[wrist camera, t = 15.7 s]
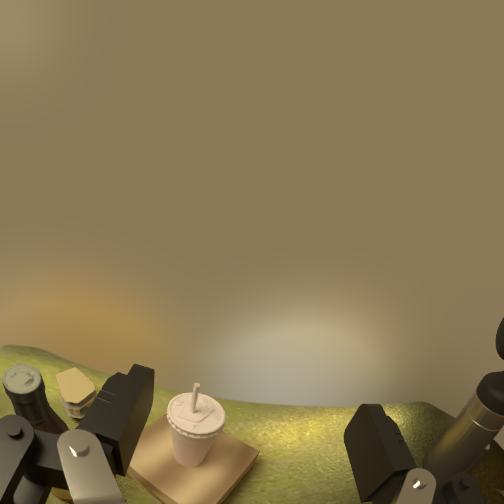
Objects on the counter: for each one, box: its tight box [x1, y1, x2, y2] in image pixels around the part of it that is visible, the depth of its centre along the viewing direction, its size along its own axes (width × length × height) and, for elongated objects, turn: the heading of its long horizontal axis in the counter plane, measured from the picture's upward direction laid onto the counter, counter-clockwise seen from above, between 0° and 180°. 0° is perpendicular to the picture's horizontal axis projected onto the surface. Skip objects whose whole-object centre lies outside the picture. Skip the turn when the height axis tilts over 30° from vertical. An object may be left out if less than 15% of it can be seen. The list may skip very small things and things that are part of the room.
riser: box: [126, 413, 260, 504], centre depth 30 cm, size 14×14×4 cm
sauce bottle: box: [2, 364, 74, 503], centre depth 18 cm, size 6×6×20 cm
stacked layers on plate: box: [56, 368, 96, 419], centre depth 34 cm, size 10×9×6 cm
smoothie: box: [167, 383, 225, 467], centre depth 28 cm, size 6×6×14 cm
